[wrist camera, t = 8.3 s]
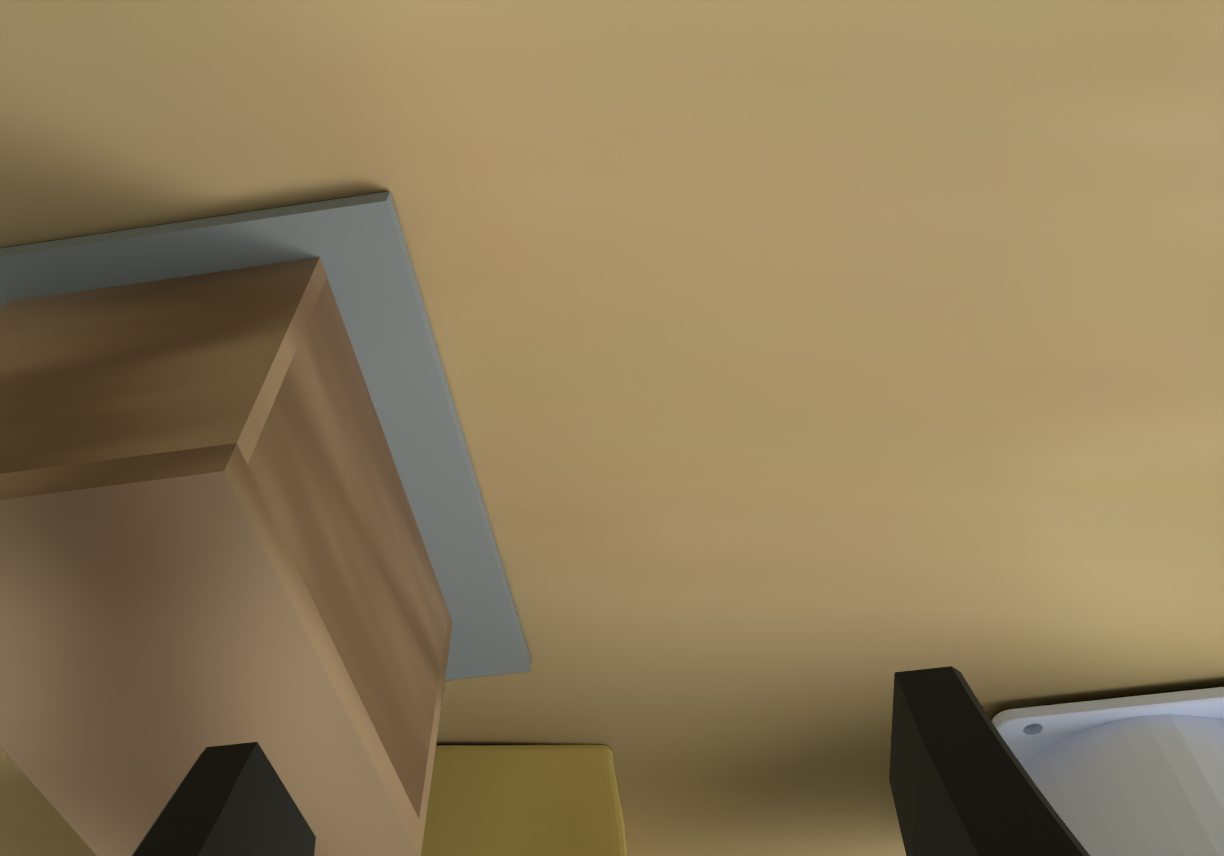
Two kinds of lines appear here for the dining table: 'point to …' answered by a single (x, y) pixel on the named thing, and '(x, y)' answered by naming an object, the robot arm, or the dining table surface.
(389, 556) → the walnut cover
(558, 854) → the cheese
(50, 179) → the dining table surface
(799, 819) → the dining table surface
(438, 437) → the mat
